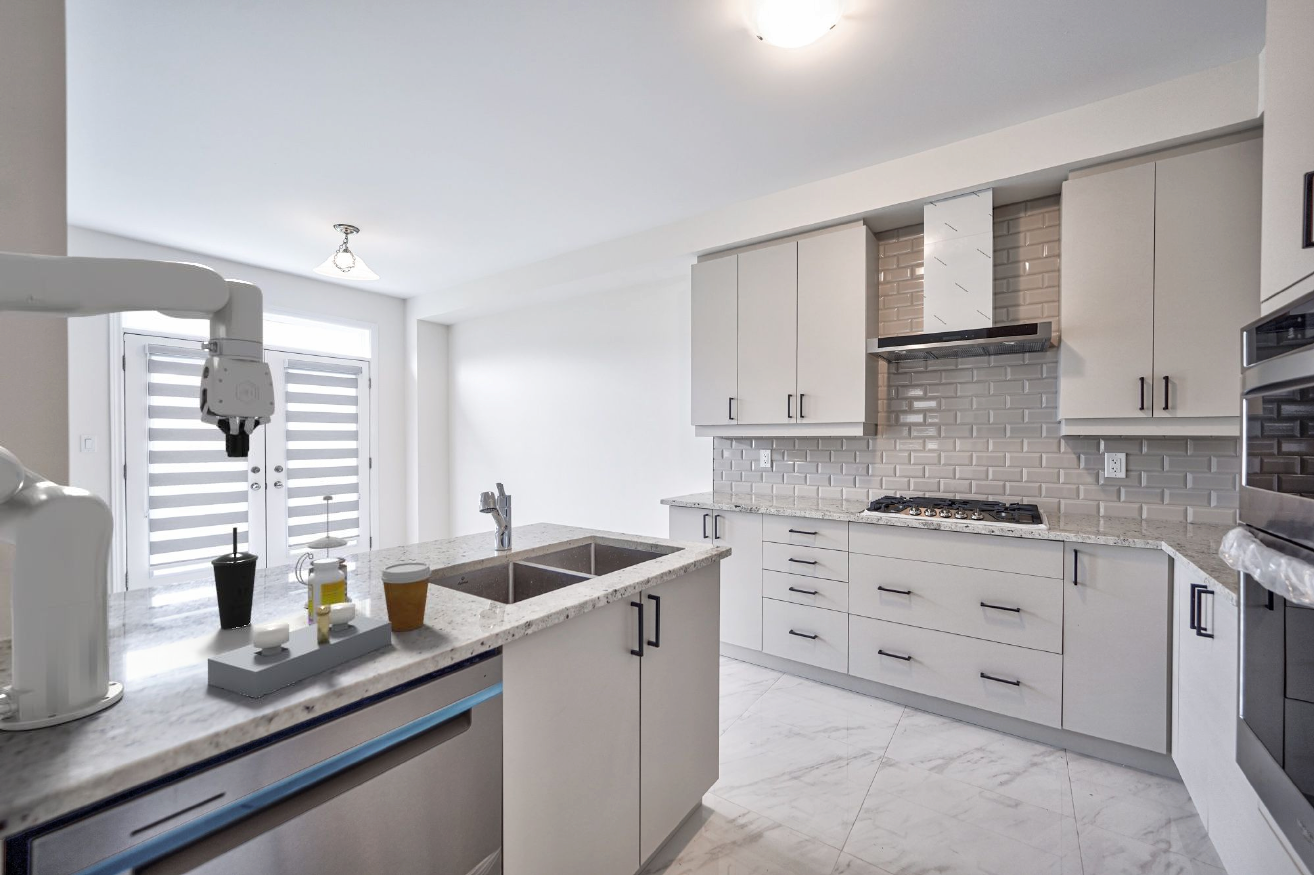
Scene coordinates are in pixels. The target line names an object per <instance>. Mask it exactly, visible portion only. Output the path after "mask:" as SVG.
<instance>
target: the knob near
mask: <svg viewBox="0 0 1314 875" xmlns="http://www.w3.org/2000/svg"><path fill="white" fill-rule="evenodd" d="M289 632H290V623H288V622H273V623H269V624H264V625H261V626H257V627H256V628H254V629H253V634H252V637H253V639H252V641H253V642H252V644H253V646H254V647H255V648H262V656H265V657H268V656H271V655H274V654H277V653H280V652H281V645H282V644H284V643H286V642H288V641H289Z"/></svg>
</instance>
